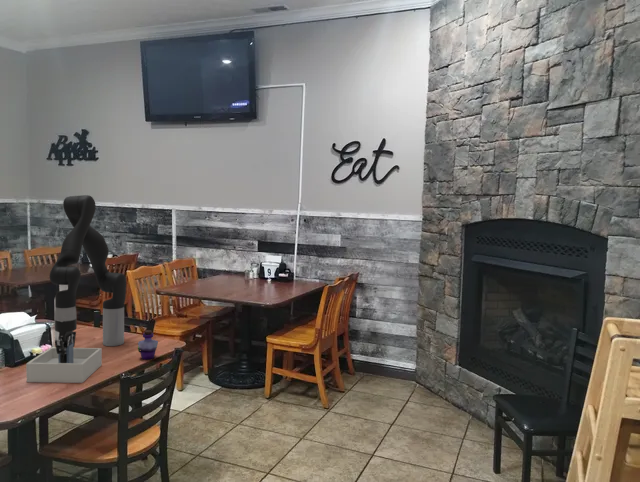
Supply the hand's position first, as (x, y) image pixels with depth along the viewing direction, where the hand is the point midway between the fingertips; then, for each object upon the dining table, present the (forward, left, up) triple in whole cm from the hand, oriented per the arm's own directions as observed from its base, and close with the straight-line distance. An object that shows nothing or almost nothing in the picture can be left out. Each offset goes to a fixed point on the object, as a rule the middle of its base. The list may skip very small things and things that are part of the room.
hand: (66, 361), depth 201 cm
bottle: (-44, -19, -5) cm, 48 cm away
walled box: (0, 0, -5) cm, 5 cm away
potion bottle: (-20, +26, -5) cm, 33 cm away
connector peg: (0, 0, -3) cm, 3 cm away
